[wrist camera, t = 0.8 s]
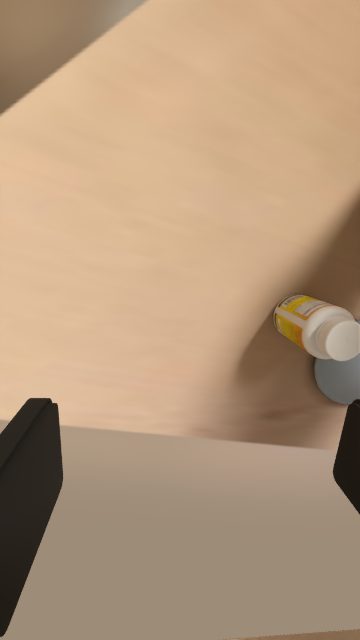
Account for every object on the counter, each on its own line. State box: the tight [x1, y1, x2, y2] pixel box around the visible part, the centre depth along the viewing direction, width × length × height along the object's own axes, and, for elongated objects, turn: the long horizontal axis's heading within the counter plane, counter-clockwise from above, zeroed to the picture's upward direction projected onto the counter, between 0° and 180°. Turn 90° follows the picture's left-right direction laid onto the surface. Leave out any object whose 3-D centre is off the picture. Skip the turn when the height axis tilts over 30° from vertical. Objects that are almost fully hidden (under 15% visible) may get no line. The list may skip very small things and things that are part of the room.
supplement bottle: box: [274, 294, 360, 361], centre depth 31 cm, size 6×6×10 cm
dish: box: [314, 320, 360, 405], centre depth 38 cm, size 12×12×1 cm
